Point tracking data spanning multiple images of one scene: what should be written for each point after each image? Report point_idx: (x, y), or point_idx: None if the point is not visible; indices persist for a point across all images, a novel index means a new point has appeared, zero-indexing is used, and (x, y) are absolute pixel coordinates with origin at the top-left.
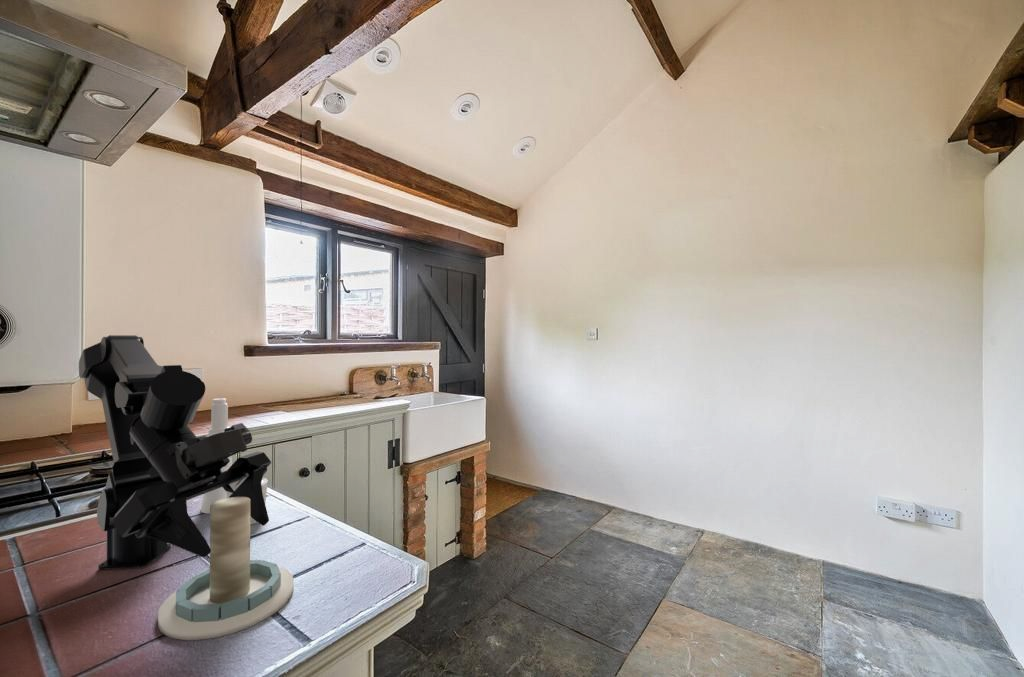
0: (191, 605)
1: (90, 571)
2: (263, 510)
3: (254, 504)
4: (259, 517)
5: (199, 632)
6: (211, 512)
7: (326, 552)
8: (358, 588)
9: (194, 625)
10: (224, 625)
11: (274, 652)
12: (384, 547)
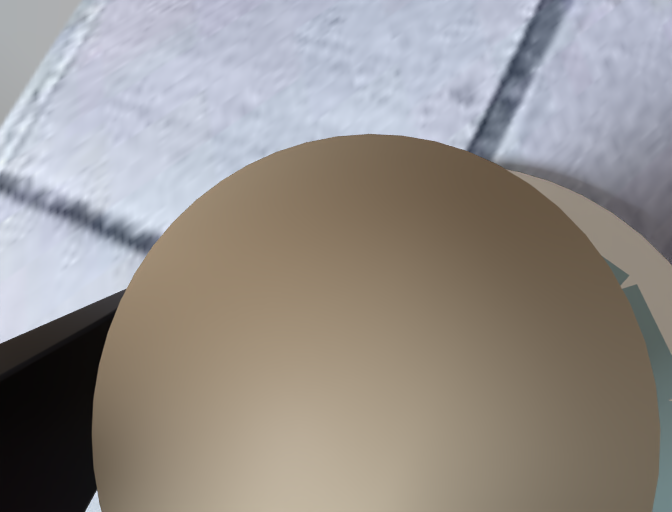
0: (665, 433)
1: None
2: (85, 321)
3: (34, 419)
4: None
5: None
6: None
7: (61, 278)
8: (275, 23)
9: None
10: (638, 246)
11: (646, 30)
12: (24, 100)
